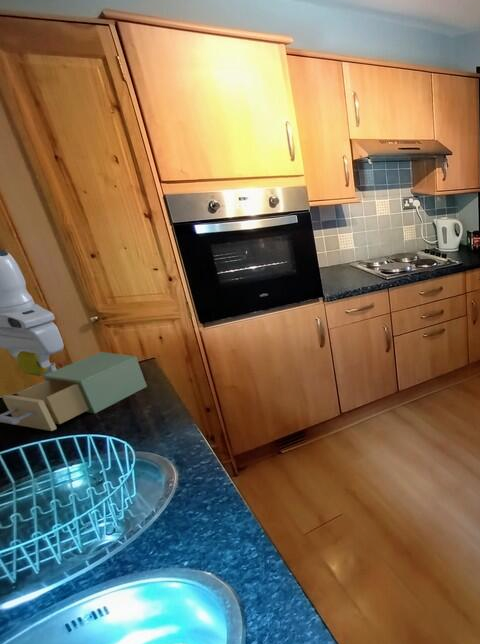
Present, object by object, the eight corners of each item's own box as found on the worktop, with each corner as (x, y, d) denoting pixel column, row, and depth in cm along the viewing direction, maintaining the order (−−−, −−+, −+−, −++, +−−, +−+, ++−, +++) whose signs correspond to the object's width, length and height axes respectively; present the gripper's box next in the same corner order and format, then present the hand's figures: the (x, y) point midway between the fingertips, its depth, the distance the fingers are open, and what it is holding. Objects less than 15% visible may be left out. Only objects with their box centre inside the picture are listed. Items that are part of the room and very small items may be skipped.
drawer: (29, 442, 114) (13, 413, 110) (-7, 435, 116) (-24, 406, 113) (108, 402, 131) (97, 375, 127) (75, 397, 134) (63, 371, 130)
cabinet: (94, 413, 127) (80, 380, 123) (58, 407, 130) (42, 375, 126) (147, 386, 141) (136, 356, 137) (112, 381, 144) (100, 351, 140)
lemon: (18, 379, 114) (5, 350, 111) (44, 369, 119) (32, 342, 116) (34, 382, 113) (21, 353, 110) (60, 372, 118) (48, 344, 115)
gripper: (-36, 314, 108) (-11, 365, 114) (27, 323, 104) (50, 375, 110) (-3, 306, 114) (19, 355, 120) (58, 314, 110) (79, 364, 115)
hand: (34, 365), depth 115 cm, fingers closed on lemon, 5 cm apart
